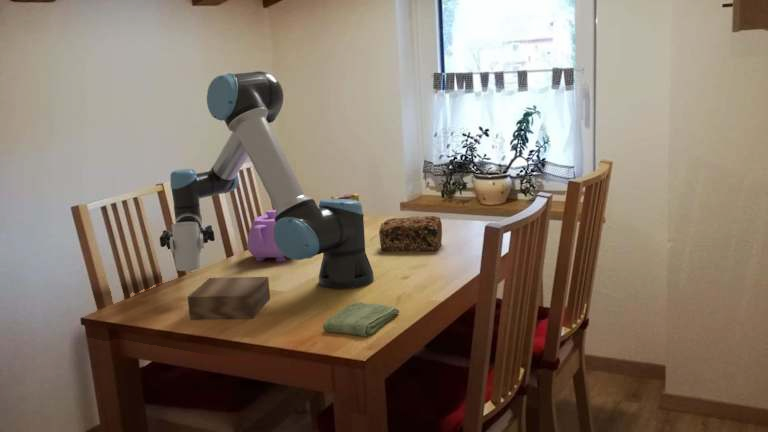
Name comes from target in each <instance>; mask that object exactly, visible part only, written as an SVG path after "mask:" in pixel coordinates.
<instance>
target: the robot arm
mask: <svg viewBox="0 0 768 432" xmlns="http://www.w3.org/2000/svg"><path fill="white" fill-rule="evenodd" d="M206 104H207V108H208V112H209V113H210V115H211V117H212V118H214V119H215V120H218V121H224V123H225V124H226V127H227V128H228V130H229V131H230V132H231V134H230V136H229V137H228V138H227V141H226V142H225V145H224V146H223V148H222V150H221V152H220V153H219V155H218V157H217V158H216V160H215V162H214V164H213V165H212V166H211V168H210V170H209V171H203V172H199V173H197V172H196V170H195V169H194V168H183V169H176V170H173V171H172V172H171V173H170V174H169V175H170V190H171V193H172V200H173V201H172V202H173V211H174V220H175V223H180V222H197V223H198V225H199V229H200V232H201V234H200V244H201V250H202V249H205V244H208V243H209V241H210V242H214V241H215V239H216V238H215V231H214V230H213V225H207V226H204V228H203V226H202V224H203V220H202V214H201V208H200V206H201V205H200V199H203V198H206V197H207V198H208V197H213V196H217V195H222V194H227V193H229V192H233V191H234V190H236V189H237V187H238V186H239V183H238V182H239V176H238V173H239V172H240V170H241V168H242V167H243V165H244V164H245V162H246V160H247V159H250V161H251V163H252V165H253V168H254V169H255V172H256V173H257V175H258V177H259V180H260V181H261V183H262V185H263V187H264V189H265V191H266V193H267V195H268V197H269V199H270V201H271V203H272V205H273V207H274V210H276V213H275V216H274V220H275V222H276V224H275V226H274V229H273V232H274V233H275V235H274V241H275V243H276V245H277V247H278V249H279V250H280V251H281V252H282V253H283V254H284V255H285V256H284V257H285V258H288V259H291V260H293V261H301V260H305V259H306V260H308V259H312V258H314V257H316V256H319V255H320V254H322V255H323V256H322V260H321V264H320V268H319V272H318V283H319V285H320V286H321V287H323V288H326V289H333V290H347V289H355V288H360V287H364V286H367V285H369V284H371V283H372V282H373V281H374V279H375V278H374V271H373V267H372V266H371V263H370V260H369V258H368V255H367V253H366V240H365V239H366V238H365V226H364V225H365V222H364V221H365V220H364V212H363V205H362V203H361V202H360V200H359V201H356V200H349V199H331V198H328V199H327V198H326V199H321V200H320V201H319V204H318V205H317V203H316V200H315V199H314V198H313V197H310V196H306V194H305V192H304V191H303V188H302V186H301V185H300V182H299V181H298V178H297V176H296V174H295V172H294V170H293V168H292V166H291V164H290V163H289V161H288V159H287V157H286V156H285V153H284V151H283V149H282V148H281V146H280V144H279V141H278V140H277V138H276V135H275V134H274V131H273V130H272V128H271V126H270V124H272V123H273V122H274V121H275V120H276V119H277V117H278V116H279V113H280V112H281V109H282V107H283V104H284V91H283V88H282V85H281V83H280V82H279V80H278V79H277V77H275V76H274V75H272V74H270V73H268V72H266V71H260V70H259V71H252V72H250V71H249V72H241V73H240V72H239V73H227V74H222V75H218V76H216V77H215V78H213V79H212V80H211V82H210V83H209V85H208V88H207V94H206ZM159 245H160V247H162V248H163V247H166V248H167V249H168V250H170V252H171V253H174V243H173V234H172V231H170V230H165V229H163V230H162V234H161V235H160V236H159Z"/></svg>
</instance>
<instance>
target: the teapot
mask: <svg viewBox="0 0 768 432" xmlns="http://www.w3.org/2000/svg"><path fill="white" fill-rule="evenodd" d="M275 213H276V209H268V210H266V211H265V214H263V215H260V216H257V217H256V218H254V220H253V221H252V223H251V226H250V229H249V231H248V236H247V243H246V245H247V250H248V252H249V253H250V254H251V255H252V256H253V257H255V260H254V261H255V262H262V261H265V260H266V258H275V261H276V262H277V263H282V262H286V261H287V259H286V256H285V255H284V254H283V253H282V252H281V251H280V250H279V249H278V247H277V245H276V243H275V241H274V235H275V233H274V232H273V229H274V226H275V224H276V222H275V220H274V216H275Z"/></svg>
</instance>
